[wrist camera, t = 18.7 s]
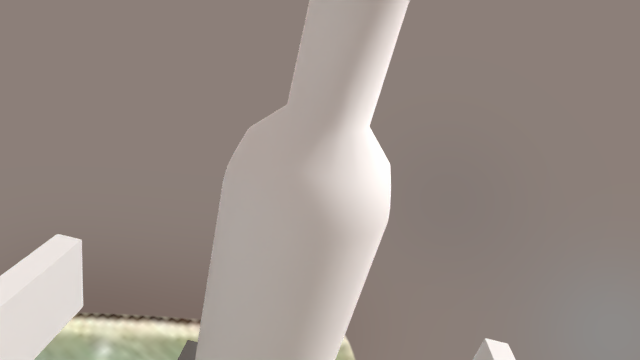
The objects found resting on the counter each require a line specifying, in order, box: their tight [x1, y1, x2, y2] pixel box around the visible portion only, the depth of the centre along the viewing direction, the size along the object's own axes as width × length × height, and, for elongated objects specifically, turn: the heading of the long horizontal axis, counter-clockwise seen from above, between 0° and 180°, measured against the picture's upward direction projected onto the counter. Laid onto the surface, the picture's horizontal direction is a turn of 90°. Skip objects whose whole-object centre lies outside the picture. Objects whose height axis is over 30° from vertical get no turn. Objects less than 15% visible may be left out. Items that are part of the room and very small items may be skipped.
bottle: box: [195, 0, 410, 360], centre depth 19 cm, size 8×8×30 cm
